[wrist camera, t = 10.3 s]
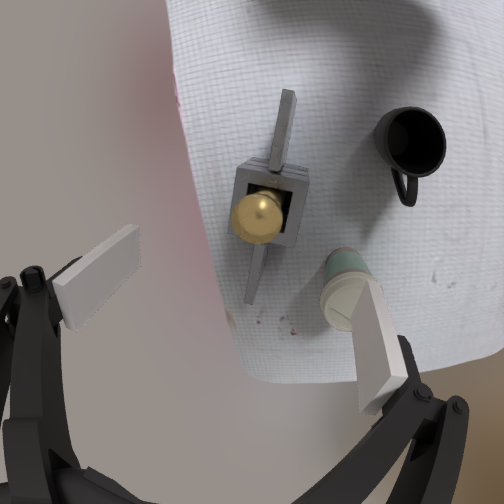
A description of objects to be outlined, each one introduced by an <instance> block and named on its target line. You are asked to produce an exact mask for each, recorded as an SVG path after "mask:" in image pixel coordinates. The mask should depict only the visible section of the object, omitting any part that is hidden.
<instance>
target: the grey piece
mask: <svg viewBox="0 0 504 504" xmlns="http://www.w3.org/2000/svg"><path fill="white" fill-rule="evenodd" d="M296 101H297V99H296V95H295V92H294V91H293V90H287V89H283V90H282V95H281V101H280V106H279V112H278V118H277V123H276V129H275V134H274V140H273V145H272V151H271V156H270V162H269V164H267V163H262V162H256V161H251V160H248V161H246V162H244V164H248V165H254V166H259V167H264V168H268V169H269V170H274V171H284V172H289V173H293V174H298V175H302V176H307V177H309V172H305V171H300V170H296V169H291V168H287V167H282V166H283V164H284V162H285V160H286V155H287V150H288V144H289V139H290V134H291V128H292V123H293V118H294V112H295V107H296ZM255 186H256V184H253V183H252V187H251V193H250V194H253V193H254V192H255ZM292 194H293V193H292ZM291 199H292V198H291ZM290 204H291V203H290ZM289 208H290V207H289ZM288 213H289V212H288ZM287 217H288V216H285V215H283V222H282V224H285V225H286V222H287Z"/></svg>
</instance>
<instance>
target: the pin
mask: <svg viewBox="0 0 504 504" xmlns="http://www.w3.org/2000/svg"><path fill="white" fill-rule="evenodd" d="M286 193H287V191H286V190H282V189H277V188H272V187H268V186H263V185H261V186H260V188H259V189H258V190H257V191H256V192H255V193H253V194H249V195H247V196H245V197H244V198H242V199H241V200H240V201H239V202H238V203H237V204H236V206H235V207H234V209H233V212H232V217H231V220H232V226H233V228H234V230H235V232H236V234H237V235H238V236H239V237H240V238H241V239H243V240H244V241H246V242H248V243H252V244H265V243H268V242H270V241H271V240H273V239H274V238H275V237H276V236H277V235H278V233H279V231H280V229H281V226H282V222H283V213H282V210H281V206H282V204H283V201H284V198H285V195H286Z"/></svg>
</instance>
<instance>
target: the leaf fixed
mask: <svg viewBox="0 0 504 504" xmlns="http://www.w3.org/2000/svg"><path fill="white" fill-rule="evenodd" d="M249 160H251V161H256V162H262V163H267V164H269V162H270V160H266V159H260V158H255V157H253V158H251V159H249ZM282 167H287V168H291V169H296V170H300V171H305V172H309V170H308V168H304V167H299V166H295V165H290V164H286V163H284V164H283V166H282ZM309 182H310V181H309V177H307V176H302V175H298V174H293V173H289V172H284V171H274V170H269V169H268V168H264V167H259V166H254V165H248V164H241V165H239V166H238V167H237V170H236V177H235V183H234V190H233V197H232V204H231V211H230V219H229V226H228V234H233V235H237V234H236V232H235V230H234V228H233V226H232V220H231V217H232V212H233V209H234V207H235V206H236V204H237V203H238V202H239V201H240V200H241V199H242V198H244V197H245V196H247V195H249V194H250V193H251V187H252V183H253V184H256V186H255V192H256V191H257V190H258V187H259V185H263V186H268V187H272V188H277V189H282V190H286V191H291V192H293V194H292V197H291V198H292V199H291V202H290V203H291V204H290V208H289V209H288V208H284V207H281V210H282V213H283V215H285V216H288V217H287V222H286V225H285V224H282V226H281V229H280V231H279V233H278V235H277V236H276V237H275V238H274V239H273V240H271V241H270V242H268V243H265V244H255V245H254V250H253V256H252V261H251V267H250V272H249V278H248V283H247V289H246V294H245V300H244V303H247V304H251V305H253V302H254V299H255V296H256V292H257V289H258V286H259V283H260V279H261V276H262V273H263V269H264V265H265V260H266V255H267V250H268V245H269V243H273V244H278V245H282V246H287V247H291V248H294V246H295V242H296V238H297V234H298V230H299V226H300V221H301V217H302V213H303V209H304V204H305V200H306V196H307V191H308V187H309ZM255 192H254V193H255ZM288 212H289V213H288Z"/></svg>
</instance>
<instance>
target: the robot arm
mask: <svg viewBox="0 0 504 504" xmlns="http://www.w3.org/2000/svg"><path fill="white" fill-rule="evenodd" d="M139 267H141V261H140V233H139V226H136V225H132V224H128V225H126V226H125V227H123V228H122V229H120V230H119V231H118V232H116V233H115V234H113V235H112V236H110V237H109V238H108V239H106V240H105V241H103V242H102V243H101V244H99V245H98V246H97V247H95V248H94V249H93V250H91V251H90V252H89V253H87V254H86V255H84V256H81V257H78V258H76V259H74V260H72V261H71V262H70V263H68V264H67V265H66V266H64V267H63V268H62V269H61V270H60V271H58V272H57V273H56V274H54V275H53V276H52V277H50V278H49V279H48V280H47V281H46V279H45V275H44V271H43V269H42V267H40V266H30V267H28V268H26V269H24V270H23V271H22V272H21V273H20V278H21V282H22V285H23V287H22V286H18V285H17V281H16V279H15V278H14V277H11V276H9V277H4V278H2V279H1V280H0V426H1V421H2V416H3V411H4V406H5V402H6V398H7V394H8V390H9V386H10V418H9V419H7V420H4V422H3V427H2V430H3V446H4V457H5V465H6V471H7V478H8V482H5V483H0V504H156V503H151V502H145V501H142V500H140V499H138V498H137V497H135V496H134V495H132V494H131V493H130V492H129V491H127V490H126V489H125V488H123V487H122V486H121V485H119V484H118V483H117V482H116V481H114V480H113V479H110V478H109V477H107V476H105V475H103V474H101V473H99V472H98V471H96V470H94V469H92V468H91V467H88V468H87V469H81V467H80V464H79V461H78V459H77V457H76V455H75V453H74V451H73V449H72V445H71V440H70V435H69V430H68V424H67V418H66V410H65V403H64V394H63V384H62V369H61V339H60V338H61V328H60V324H59V322H60V321H61V320H62V319H63V320H64V323H65V326H66V327H67V328H68V329H70V330H72V331H74V332H76V333H77V332H78V331H79V330H80V329H81V328H82V327H83V326H84V325H85V324H86V323H87V321H88V320H89V319H90V318H91V317H92V316H93V315H94V314H95V313H96V311H97V310H99V308H100V307H101V306H102V305H103V304H104V303H105V302H106V301H107V300H108V299H109V298H110V297H111V296H112V295H113V294H114V293H115V292H116V291H117V290H118V289H119V288H120V287H121V286H122V285H123V283H125V281H126V280H127V279H128V278H129V277H130V276H131V275H132V274H133V273H134V272H135V271H136V270H137V269H138V268H139ZM6 315H7V318H8V320H7V322H5V317H6ZM350 322H351V329H352V337H353V345H354V353H355V363H356V372H357V383H358V396H359V411H360V414H366V415H375V414H377V413H378V411H379V410H380V409H381V408H382V413H383V416H382V417H381V418H380V419H379V420H378V421H377V422H376V423H375V424H374V425H373V426H372V428H371V429H370V430H369V432H368V433H367V434H366V435H365V436H364V437H363V438H362V439H361V441H360V442H359V443H358V444H357V445H356V446H355V447H354V448H353V449H352V450H351V451H350V452H349V453H348V454H347V455H346V456H345V458H343V459H342V460H341V461H340V462H339V463H338V464H337V465H336V466H335V467H334V468H333V469H332V470H331V471H330V472H328V473H327V474H326V475H325V476H324V477H323V478H322V479H321V480H320V481H318V482H317V483H316V484H315V485H314V486H313V487H311V488H310V489H309V490H308V491H307V492H305V493H304V494H303V495H302V496H301V497H299V498H298V499H297V500H295V501H294V502H293V503H291V504H361V503H362V502H363V501H364V500H365V499H366V498H367V497H368V495H369V494H370V493H371V492H372V491H373V489H374V488H375V487H376V486H377V485H378V484H379V482H380V481H381V480H382V479H383V478H384V476H385V475H386V474H387V472H388V471H389V470H390V469H391V467H392V466H393V464H394V463H395V462H396V460H397V459H398V458H399V456H400V455H401V453H402V452H403V451H404V449H405V448H406V446H407V444H408V443H409V442H410V440H411V439H412V442H411V444H410V447H409V450H408V453H407V456H406V458H405V461H404V464H403V466H402V469H401V471H400V474H399V476H398V478H397V481H396V483H395V485H394V487H393V490H392V492H391V494H390V496H389V498H388V500H387V502H386V504H451V501H452V498H453V495H454V491H455V488H456V484H457V480H458V476H459V472H460V468H461V463H462V458H463V453H464V448H465V441H466V435H467V428H468V420H469V407H468V404H467V402H466V401H465V400H464V399H463V398H461V397H460V396H452V397H451V398H449V399H448V401H443V400H440V399H437V398H435V397H433V393H432V391H431V389H430V388H429V387H428V386H427V385H425V384H423V383H421V379H420V376H419V372H418V369H417V365H416V362H415V360H414V359H415V358H414V355H413V354H412V349H411V346H410V343H409V342H408V341H407V339H406V338H405V336H401V335H397V334H396V331H395V327H394V324H393V321H392V318H391V315H390V312H389V309H388V306H387V303H386V300H385V297H384V294H383V291H382V288H381V285H380V283H379V282H376V281H372V280H368V279H367V281H366V283H365V285H364V288H363V290H362V292H361V295H360V297H359V299H358V301H357V304H356V306H355V308H354V310H353V312H352V315H351V317H350ZM10 382H11V384H10Z"/></svg>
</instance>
